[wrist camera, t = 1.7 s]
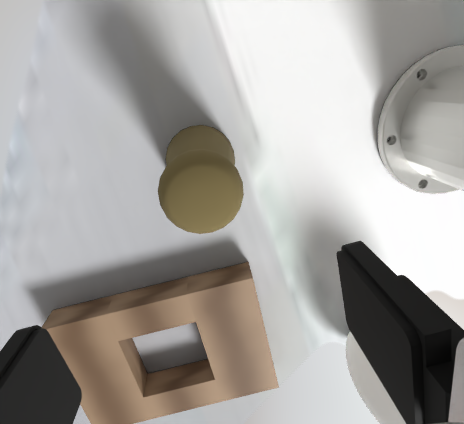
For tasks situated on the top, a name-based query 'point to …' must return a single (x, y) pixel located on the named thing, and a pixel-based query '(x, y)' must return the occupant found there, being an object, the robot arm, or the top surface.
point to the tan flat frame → (156, 319)
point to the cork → (200, 181)
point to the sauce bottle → (370, 385)
